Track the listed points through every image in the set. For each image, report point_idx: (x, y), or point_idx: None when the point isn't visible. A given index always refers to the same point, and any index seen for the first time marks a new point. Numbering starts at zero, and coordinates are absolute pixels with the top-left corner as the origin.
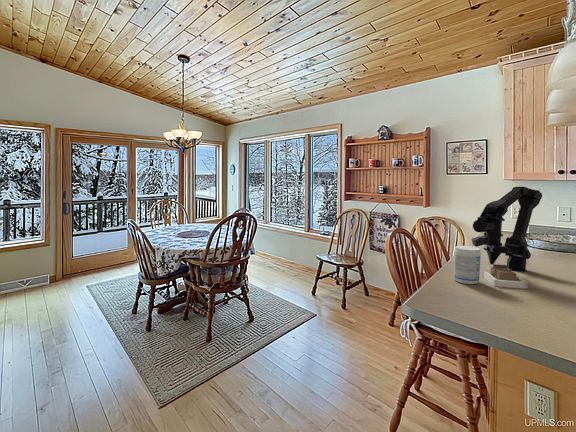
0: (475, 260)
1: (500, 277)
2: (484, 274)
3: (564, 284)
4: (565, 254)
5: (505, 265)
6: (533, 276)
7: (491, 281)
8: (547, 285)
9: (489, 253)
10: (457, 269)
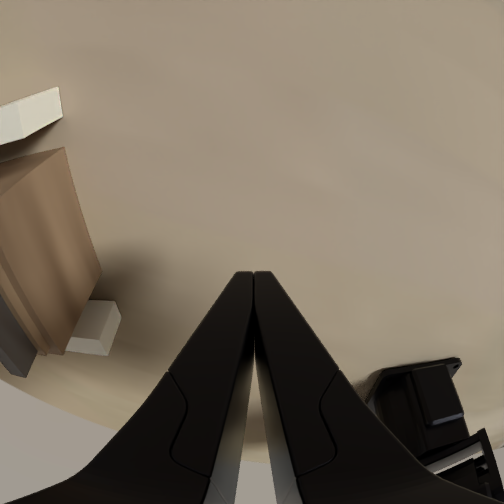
0: None
1: None
2: (24, 98)
3: None
4: (498, 445)
5: (6, 366)
6: (258, 412)
7: None
8: (97, 396)
9: (128, 487)
10: None
